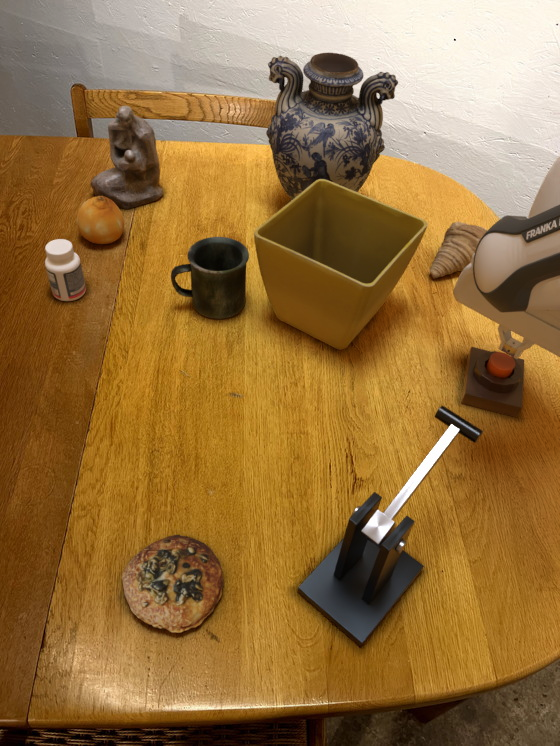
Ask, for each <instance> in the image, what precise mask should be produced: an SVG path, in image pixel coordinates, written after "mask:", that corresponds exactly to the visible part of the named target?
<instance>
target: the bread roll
mask: <svg viewBox="0 0 560 746" xmlns="http://www.w3.org/2000/svg"><path fill="white" fill-rule="evenodd" d="M121 580H122V586H123V593H124V594H123V595H124V597H125V600H126V602H127V604H128V606H129V608H130V611H131V612H132V613H133V614H134V616H136V617H137V619H139V620H141V621H142V622H144V623H145V624H148V625H151V626H152V627H153V628H158V629H164V630H167V631H169V632H170V633H177V634H179V633H183V632H185V631H189V630H190V629H193V628H197V627H198V626H201V624H202V623H203V622H204V620H205V619H207V617H208V616H209V615H210V614H211V613H212V612H213V611H214V609H215V607H216V605H217V604H218V603H219V600H220V599H221V598H222V595H223V587H224V583H225V579H224V572H223V569H222V566H221V562H220V560H219V558H218V557H217V555H216V554H215V553H214V551H213V550H212V549H211V548H210V547H209V545H207V544H206V543H204V542H203V541H201V540H198V539H195V538H192V537H190V536H187V535H180V534H175V535H169V536H166V537H164V538H161V539H159V540H156V541H154V542H152V543H150V544H149V545H147V546H145V548H142V550H141V551H139V552H137V553H136V554H135V555H134V556H133V557H132V558H131V559H130V560H129V561H128V563H127V565H126V567H125V568H124V570H123V571H122V574H121Z"/></svg>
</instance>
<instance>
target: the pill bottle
mask: <svg viewBox="0 0 560 746" xmlns="http://www.w3.org/2000/svg"><path fill="white" fill-rule="evenodd" d="M44 251H45V255H46V258H45V261H44V266H45V270H46V275H47V278H48V281H49V286H50V290H51V293H52V296H53V297H54V298H56V299H57V300H59V301H62V302H73V301H76V300H79V299H80V298H83V297H84V295H85V293H86V291H87V286H86V281H85V277H84V272H83V267H82V262H81V259H80V256H79V254H78V253H77V252H75V249H74V246H73V243H72V242H71V241H70V240H68V239H65V238H57V239H54V240H50V241H49V242H47V244H46V245H45V247H44Z"/></svg>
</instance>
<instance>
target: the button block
mask: <svg viewBox="0 0 560 746" xmlns="http://www.w3.org/2000/svg"><path fill="white" fill-rule="evenodd" d="M496 352H498V351H496V350H492V351H491V350H487V349H483V348H479V347H476V346H475V347H474V346H471V347H470V349H469V351H468V354H467V356H466V365H465V371H464V377H463V379H464V380H463V385H462V394H461V400H460V403H461V404H463V405H466V406H471V407H474V408H479V409H483V410H486V411H490V412H493V413H498V414H502V415H505V416H510V417H513V418H518V416H519V414H520V413H521V411H522V409H523V395H524V377H525V359H524V358H520V357H519V358H518V359H515V358H514V357H512V356H511V357H512V358H513V359H514V361H515V367H514V369H513V371H512V373H511V375H510V376H509V377H507V378H498V377H494V376H493V375H492V374H490V373H489V372H488V371H487V368H486V365H487V363H488V361H489V358H490V356H491V355H492V354H493V353H496Z"/></svg>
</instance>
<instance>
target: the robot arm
mask: <svg viewBox="0 0 560 746" xmlns="http://www.w3.org/2000/svg"><path fill="white" fill-rule="evenodd" d="M452 294H453V297H454V300H455V301H456V302H457V303H459V304H461V305H463V306H465V307H466V308H468V309H470V310H472V311H474V312H475V313H477V314H480V315H481V316H483V317H484V318H487V319H489V320H490V321H492V322H494V323H496V324H498V327H497V332H498V336H499V340H500V344H499V346H498V348H497V349H498V350H500V352H502V353H506V354H508V355H510V356H512V357H514V358H515V359H518V358H520V357H521V355H522V354H523V353H524V351H526V350H529V349H530V348H532V347H533V346H534V345H536V346H538V347H540V348H541V349H544V350H545V351H547V352H549V353H551V354H553V355H554V356H557V357H558V358H560V155H559V156H558V157H557V158H555V161H554V162H553V163H552V165H551V166H550V168H549V170H548V171H547V173H546V174H545V177H544V179H543V181H542V183H541V185H540V187H539V189H538V191H537V193H536V195H535V197H534V200H533V202H532V205H531V207H530V210H529V212H528V216H525V215H524V216H522V215H508V214H507V215H504V216H503V217H501V218H500V219H498V220H497V221H495V223H494V224H493V225H491V226H490V227H489V228H488V229H487V232H486V233H485V234H484V235H483V236H482V238H481V239H480V241H479V243H478V245H477V248H476V251H475V253H474V254H473V256H472V258H471V263H469V264H468V265H467V266H466V267H465V268H464V269H463V270H462V271H460V274H459V276H458V278H457V280H456V282H455V284H454V288H453V290H452ZM512 333H515V334H516V335H517V336H519V337H522V338H523V339H522V342H521V341H519V340H517V338H514V337H513V336H512Z"/></svg>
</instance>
